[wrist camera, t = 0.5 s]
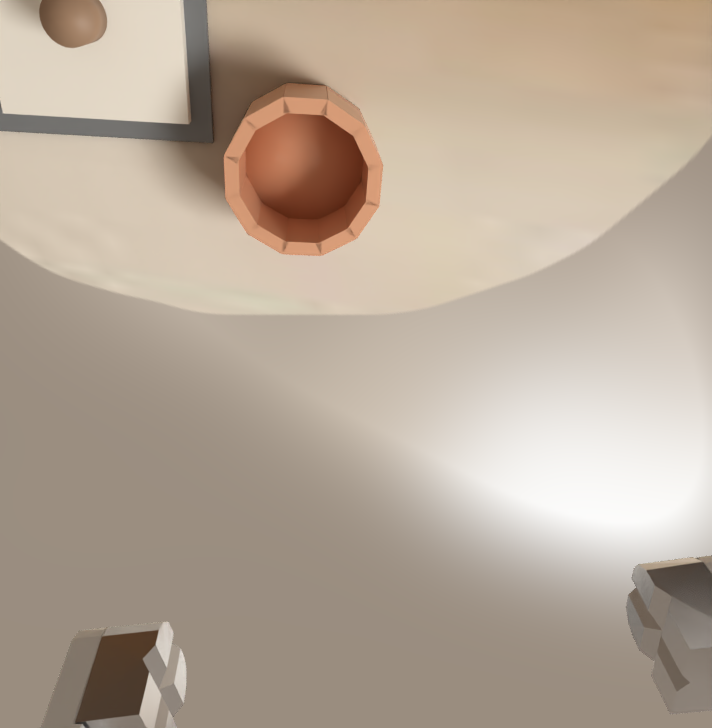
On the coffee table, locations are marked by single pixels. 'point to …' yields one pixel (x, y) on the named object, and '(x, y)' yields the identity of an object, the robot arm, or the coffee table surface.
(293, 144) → the bowl
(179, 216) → the coffee table surface
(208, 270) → the coffee table surface
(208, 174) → the coffee table surface
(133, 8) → the lid
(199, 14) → the mat
